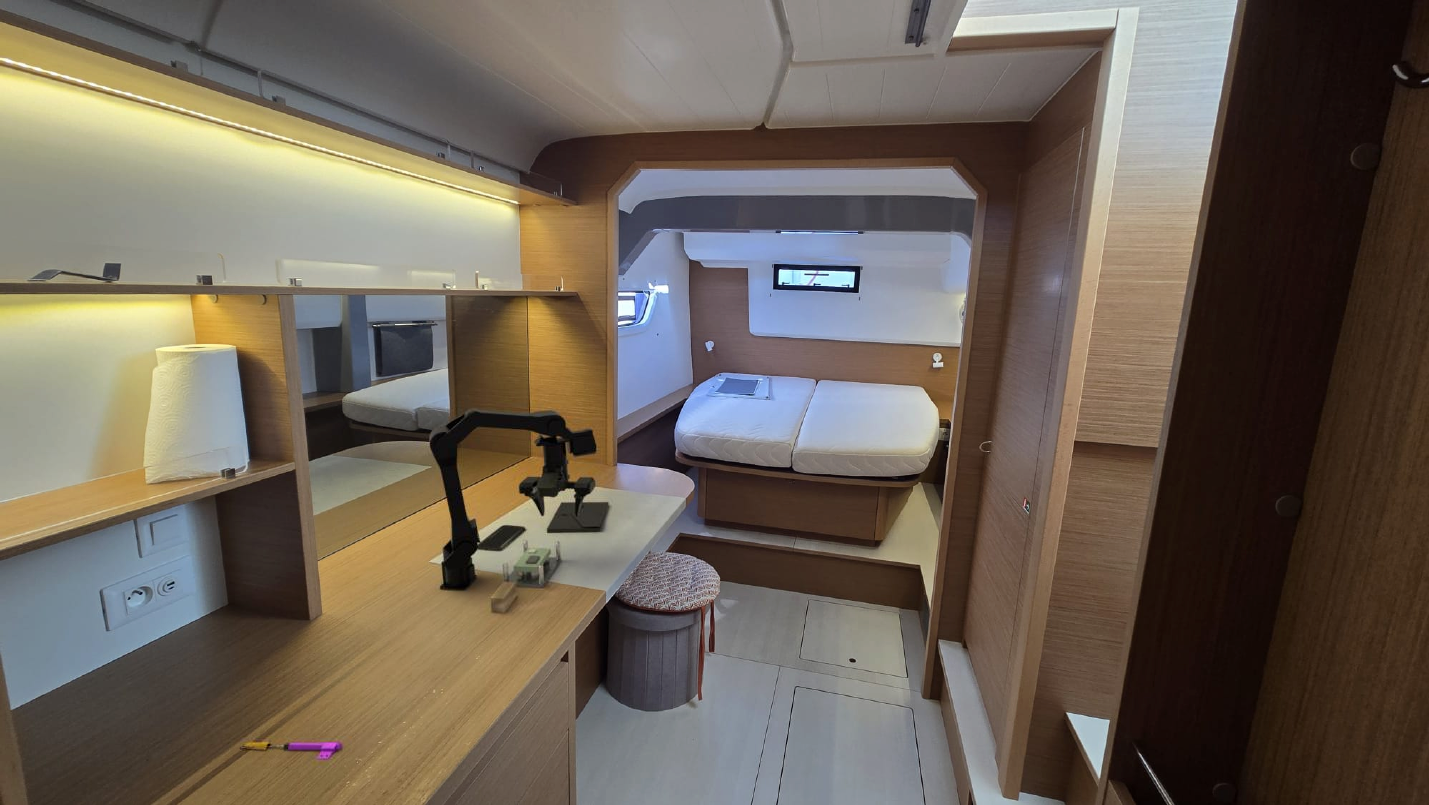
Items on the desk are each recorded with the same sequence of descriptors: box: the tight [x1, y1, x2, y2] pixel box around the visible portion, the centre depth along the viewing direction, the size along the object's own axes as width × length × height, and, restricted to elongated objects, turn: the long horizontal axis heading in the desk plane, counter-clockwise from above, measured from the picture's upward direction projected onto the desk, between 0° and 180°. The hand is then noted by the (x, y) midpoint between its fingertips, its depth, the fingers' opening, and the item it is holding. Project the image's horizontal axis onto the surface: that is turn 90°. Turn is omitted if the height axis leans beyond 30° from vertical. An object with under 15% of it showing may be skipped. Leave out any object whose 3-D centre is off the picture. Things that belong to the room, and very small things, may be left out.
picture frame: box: [546, 501, 610, 534], centre depth 177 cm, size 16×3×21 cm
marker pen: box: [245, 741, 343, 760], centre depth 88 cm, size 3×1×16 cm
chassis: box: [502, 539, 562, 589], centre depth 143 cm, size 10×14×6 cm
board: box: [513, 547, 552, 572], centre depth 142 cm, size 6×10×2 cm, turn 178°
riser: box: [490, 581, 517, 613], centre depth 129 cm, size 3×7×4 cm, turn 177°
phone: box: [477, 524, 526, 552], centre depth 162 cm, size 8×1×15 cm
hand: (560, 515), depth 146 cm, fingers open, 9 cm apart
